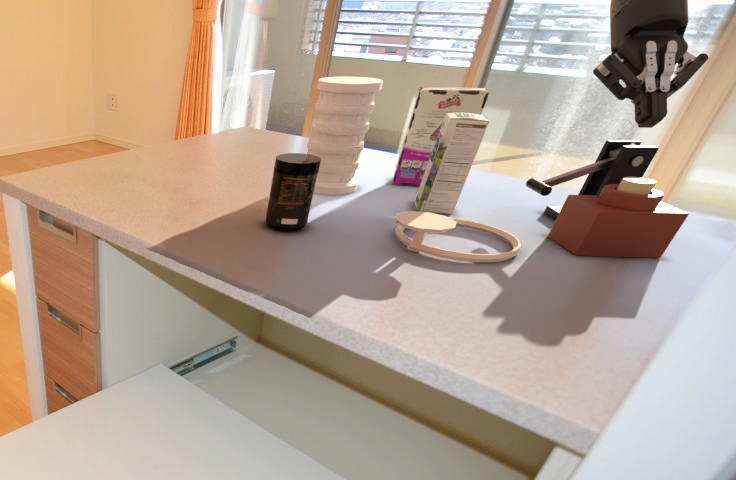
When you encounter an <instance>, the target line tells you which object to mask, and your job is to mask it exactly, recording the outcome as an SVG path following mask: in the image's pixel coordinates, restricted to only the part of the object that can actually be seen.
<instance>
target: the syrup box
mask: <svg viewBox="0 0 736 480" xmlns="http://www.w3.org/2000/svg"><path fill="white" fill-rule="evenodd" d="M489 123H490V120H488V119H487V118H485V116H484V115H483V114H481V115H478V114H472V113H446V115H445V117H444V120H443V123H442V126H441V129H440V131H439V134H438V137H437V140H436V142H435V145H434V148H433V151H432V153H431V156H430V159H429V162H428V164H427V167H426V170H425V173H424V176H423V178H422V181H421V184H420V187H418V190H417V192H416V196H415V199H414V205H415V208H416V211H418V212H430V213H435V214H450V215H451V214H454V211H455V209H456V207H457V203H458V201H459V198H460V196H461V193H462V191H463V189H464V186H465V184H466V181H467V180H468V179H467V178H468V176H469V173H470V171H471V169H472V167H473V164H474V161H475V158H476V156H477V154H478V151H479V149H480V146H481V144H482V141H483V139H484V136H485V134H486V131H487V128H488V126H489Z"/></svg>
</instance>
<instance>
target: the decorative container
mask: <svg viewBox="0 0 736 480" xmlns="http://www.w3.org/2000/svg"><path fill="white" fill-rule="evenodd" d="M383 84H384V80H383V79H381V78H377V77H376V78H375V77H369V76H367V77H366V76H347V75H346V76H342V75H341V76H325V77H320V78H318V81H317V85H316V89H318V90H320V91H319V95H318V100H316V103H315V104H314V111H315V113H314V119H312V121H311V123H310V124H311V125H310V130H311V133H310V137H309V138H308V141H307V146H306V147H307V152H306V154H310V155H315V156H318V157H320V158H321V163H320V168H319V172H318V176H317V180H316V185H315V189H314V194H319V195H333V196H334V195H347V194H351V193H354V192H356V190H357V189H358V185H359V180H358V179H357V178H355V175H356V171H357V170H358V168H359V166H360V155H361V152H362V151H363V149H364V147H365V141H364V140H365V136H366V134H367V132H368V131H369V128H370V117H371V114H372V113H373V112H374V110H375V105H376V104H375V99H376V94H377V92H379V91H381V90H382V88H383Z"/></svg>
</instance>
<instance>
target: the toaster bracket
mask: <svg viewBox="0 0 736 480" xmlns="http://www.w3.org/2000/svg"><path fill="white" fill-rule="evenodd" d="M632 143H633V144H636V145H639V146H627V145H629V144H632ZM641 144H642V141H640V140H637V139H636V140H635V139H633V140H632V139H627V140H626V139H620V140H618V139H617V140H616V139H606V140H605V142H604V144H603V146H602V148H601V150H600V152H599V153H598V155H597V157H596V160H595V161H594V163H596V162H598V161H601V160H604V159H607V158H610V151H612V150H615V149H618V148H621V147H622V148H621V149H620V151H619V153H618V155H617V157H616V159H615V161H614V162H613V164H612V166H611V167H607V168H604V169H601V170H599V171H596V172H593V173H590V174H587V176H586V179H585V181H584V182H583V185H582V187H581V188H580V190H579V193H578V194H577V195H600V193H601V191H602V190H603V188H604V186H605V185H610V184H620V183H621V181H622V179H623V178H624V177H641V178H644V175H645V174H646V171H648V168H649V166H650V165H651V163H652V162H653V159H654V158H655V156H656V154H657V153H658V151H659V149H660V147H658V146H656V145H641ZM562 207H563V205H547V206H546V207H545V209H544V211H543V214H544V215H546V216H548V217H549V218H551V219H553V220H554V221H555V220H556V218H557V216H558V214H559V212H560V211H561V209H562Z"/></svg>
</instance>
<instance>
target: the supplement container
mask: <svg viewBox="0 0 736 480" xmlns="http://www.w3.org/2000/svg"><path fill="white" fill-rule="evenodd" d="M320 163H321V158H320V157H318V156H315V155H310V154H307V153H299V152H298V153H297V152H291V153H290V152H287V153H281V154H277V155H276V156H275V161H274V167H273V173H272V178H271V186H270V190H269V196H268V201H267V208H266V213H265V220H264V222H265V225H266V227H267V228H269V229H270V230H273V231H275V232H281V233H296V232H299V231H302V230H304V228H306V227H307V225H308V222H309V216H310V213H311V212H310V211H311V208H312V202H313V198H314V194H315V193H314V189H315V185H316V180H317V176H318V172H319V168H320Z"/></svg>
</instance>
